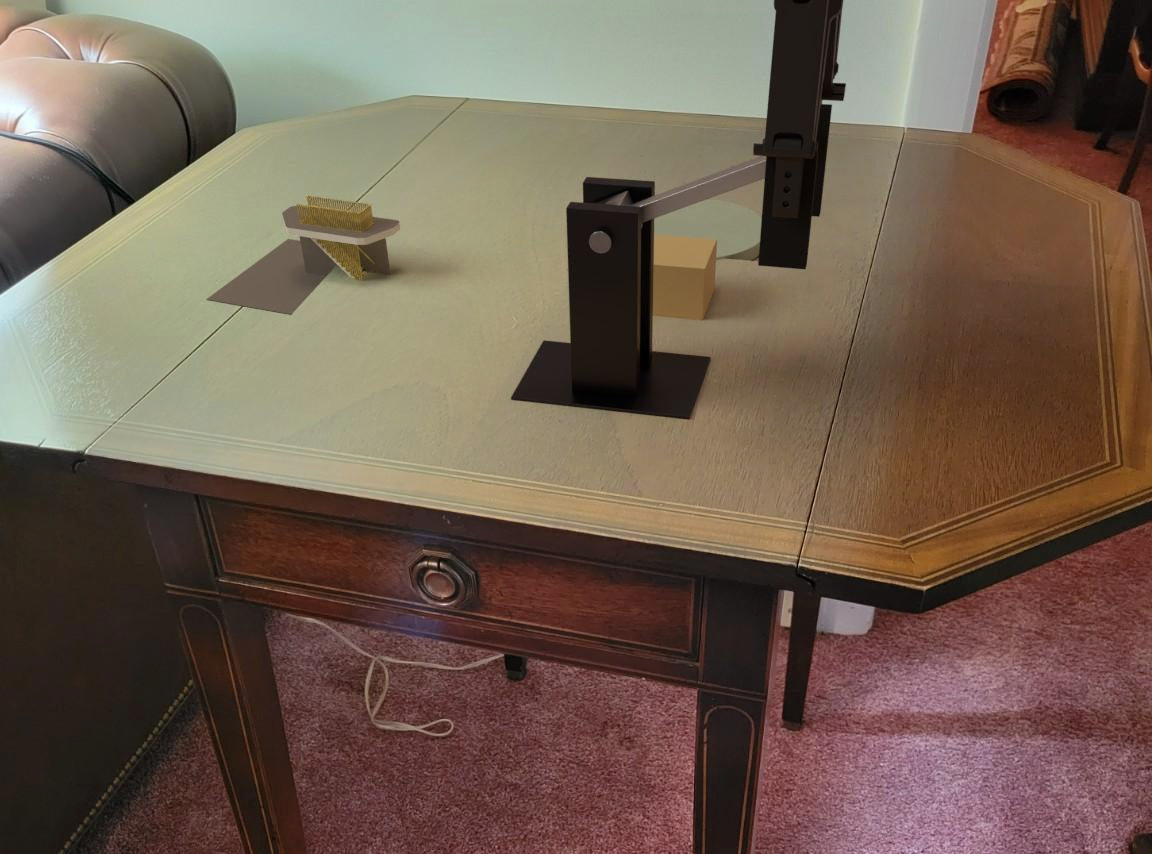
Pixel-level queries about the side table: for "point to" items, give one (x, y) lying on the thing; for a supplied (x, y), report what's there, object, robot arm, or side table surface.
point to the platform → (313, 255)
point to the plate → (716, 227)
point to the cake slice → (683, 276)
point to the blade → (694, 190)
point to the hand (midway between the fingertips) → (790, 237)
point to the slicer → (612, 318)
